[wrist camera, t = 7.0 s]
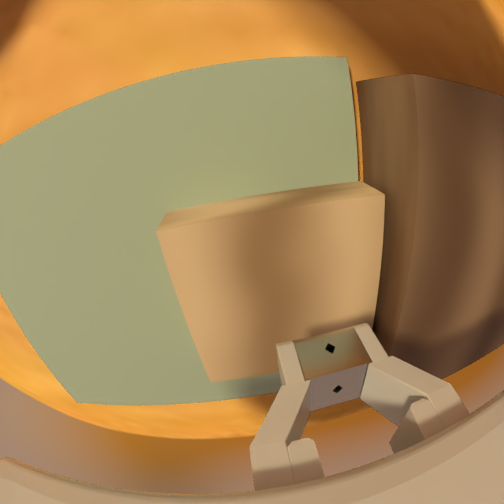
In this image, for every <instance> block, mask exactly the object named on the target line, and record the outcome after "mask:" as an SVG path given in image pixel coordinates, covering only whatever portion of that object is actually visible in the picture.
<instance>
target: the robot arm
mask: <svg viewBox="0 0 504 504" xmlns="http://www.w3.org/2000/svg"><path fill="white" fill-rule="evenodd" d="M276 350H277V358H278V366H279V372H280V378H281V383H282V386H281V388H280V390H279V392H278V394H277V396H276V398H275V400H274V402H273V404H272V406H271V408H270V410H269V412H268V413H267V415H266V417H265V419H264V421H263V423H262V425H261V427H260V429H259V431H258V432H257V434H256V436H255V438H254V440H253V442H252V443H251V446H250V455H251V463H252V471H253V479H254V486H255V491H246V492H235V493H220V494H168V493H152V492H142V491H133V490H126V489H118V488H112V487H107V486H102V485H97V484H91V483H87V482H83V481H79V480H74V479H71V478H67V477H63V476H60V475H57V474H53V473H50V472H47V471H44V470H41V469H38V468H35V467H32V466H29V465H27V464H25V463H22V462H19V461H17V460H15V459H12V458H9V457H3V458H0V504H504V390H503V391H502V392H501V393H499V394H498V395H497V396H495V397H494V398H493V399H491V400H490V401H488V402H487V403H486V404H484V405H483V406H481V407H480V408H478V409H477V410H476V411H474V412H472V413H471V414H469V412H468V410H467V409H466V407H465V406H464V404H463V402H462V401H461V399H460V398H459V396H458V394H457V393H456V392H455V390H454V388H453V387H452V385H451V384H450V383H448V382H446V381H444V380H442V379H439V378H437V377H435V376H433V375H431V374H429V373H427V372H425V371H423V370H421V369H419V368H417V367H415V366H413V365H411V364H409V363H407V362H404V361H402V360H400V359H398V358H396V357H394V356H390V357H388V355H387V353H386V352H385V350H384V348H383V347H382V345H381V344H380V342H379V340H378V339H377V337H376V336H375V334H374V332H373V331H372V329H371V328H370V326H369V324H367V323H363V324H360V325H356V326H352V327H348V328H345V329H341V330H337V331H333V332H329V333H325V334H322V335H318V336H313V337H308V338H303V339H298V340H293V341H288V342H283V343H277V344H276ZM356 398H360V399H361V400H362V401H364V402H365V403H366V404H368V405H369V406H370V407H372V408H373V409H375V410H376V411H377V412H379V413H380V414H381V415H383V416H384V417H386V418H387V419H388V420H390V421H391V422H393V423H394V424H396V425H397V426H398V429H397V430H396V432H395V434H394V435H393V437H392V438H391V440H390V442H389V443H390V445H391V447H392V450H393V453H394V454H392V455H390V456H387V457H386V458H382V459H380V460H377V461H375V462H372V463H369V464H366V465H363V466H361V467H358V468H354V469H352V470H348V471H345V472H342V473H338V474H335V475H331V476H327V477H324V473H323V469H322V466H321V463H320V459H319V456H318V452H317V449H316V445H315V442H314V440H312V439H309V438H305V439H301V437H302V434H303V431H304V429H305V426H306V423H307V421H308V418H309V415H310V411H313V410H317V409H320V408H324V407H327V406H331V405H334V404H338V403H342V402H346V401H349V400H353V399H356Z"/></svg>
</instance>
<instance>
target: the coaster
mask: <svg viewBox="0 0 504 504" xmlns="http://www.w3.org/2000/svg"><path fill="white" fill-rule="evenodd" d="M384 211H385V194H383V193H382V192H380V191H378V190H377V189H375V188H373V187H371V186H369V185H368V184H366V183H364V182H362V181H355V182H347V183H338V184H330V185H322V186H314V187H307V188H300V189H293V190H286V191H279V192H273V193H266V194H260V195H254V196H248V197H242V198H236V199H231V200H225V201H220V202H214V203H209V204H204V205H198V206H193V207H188V208H183V209H178V210H174V211H169V212H166V214H165V216H164V218H163V220H162V221H161V223H160V225H159V227H158V229H157V231H156V233H157V236H158V240H159V243H160V246H161V249H162V253H163V256H164V259H165V262H166V265H167V268H168V271H169V274H170V277H171V280H172V283H173V286H174V289H175V292H176V295H177V298H178V301H179V304H180V306H181V309H182V312H183V315H184V317H185V320H186V323H187V325H188V328H189V331H190V333H191V336H192V338H193V341H194V343H195V346H196V349H197V351H198V353H199V356H200V358H201V361H202V363H203V366H204V368H205V370H206V373H207V375H208V377H209V380H210V382H219V381H227V380H234V379H241V378H248V377H254V376H260V375H266V374H271V373H277V372H279V366H278V358H277V350H276V344H277V343H283V342H288V341H293V340H298V339H303V338H308V337H313V336H318V335H322V334H325V333H329V332H333V331H337V330H341V329H345V328H348V327H352V326H356V325H360V324H363V323H367V324H369V326H370V328H371V329H372V328H373V322H374V316H375V309H376V303H377V295H378V287H379V279H380V270H381V259H382V247H383V233H384Z"/></svg>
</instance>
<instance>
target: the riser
mask: <svg viewBox="0 0 504 504" xmlns="http://www.w3.org/2000/svg"><path fill="white" fill-rule="evenodd" d="M356 85H357V93H358V102H359V111H360V123H361V136H362V152H363V180H364V183H366V184H368V185H369V186H371V187H373V188H375V189H377V190H378V191H380V192H382V193H383V194H385V211H384V233H383V247H382V259H381V270H380V279H379V287H378V295H377V303H376V309H375V316H374V322H373V328H372V331H373V332H374V334H375V336H376V337H377V339H378V340H379V342H380V344H381V345H382V347H383V348H384V350H385V352H386V353H387V355H388V357H390V356H394V357H396V358H398V359H400V360H402V361H404V362H407V363H409V364H411V365H413V366H415V367H417V368H419V369H421V370H423V371H425V372H427V373H429V374H431V375H433V376H435V377H437V378H439V379H443V378H445V377H447V376H449V375H451V374H453V373H455V372H457V371H459V370H461V369H462V368H464V367H466V366H468V365H470V364H472V363H473V362H475V361H477V360H479V359H480V358H482V357H483V356H485V355H487V354H489V353H490V352H492V351H493V350H495V349H497V348H498V347H499V346H501V345H503V344H504V96H502V95H499V94H496V93H493V92H490V91H487V90H483V89H480V88H476V87H473V86H469V85H465V84H462V83H457V82H453V81H449V80H444V79H440V78H435V77H429V76H424V75H418V74H406V75H397V76H389V77H382V78H375V79H369V80H363V81H358V82H356Z"/></svg>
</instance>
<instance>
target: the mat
mask: <svg viewBox="0 0 504 504" xmlns="http://www.w3.org/2000/svg"><path fill="white" fill-rule="evenodd" d="M355 181H358V158H357V141H356V128H355V116H354V106H353V97H352V89H351V81H350V74H349V67H348V60H347V57H282V58H267V59H256V60H247V61H238V62H231V63H224V64H218V65H212V66H206V67H201V68H195V69H191V70H186V71H181V72H177V73H173V74H169V75H165V76H161V77H157V78H153V79H150V80H146V81H143V82H139V83H136V84H133V85H130V86H126V87H123V88H120V89H117V90H115V91H112V92H109V93H106V94H103V95H101V96H98V97H96V98H93V99H90V100H88V101H86V102H83V103H81V104H78V105H76V106H74V107H71V108H69V109H67V110H65V111H63V112H60V113H58V114H56V115H54V116H52V117H50V118H48V119H46V120H44V121H42V122H40V123H38V124H36V125H35V126H33V127H31V128H29V129H27V130H25V131H24V132H22V133H20V134H18V135H17V136H15V137H13V138H12V139H10V140H8V141H7V142H5V143H4V144H2V145H0V293H1V295H2V297H3V299H4V301H5V303H6V304H7V306H8V308H9V310H10V311H11V313H12V315H13V317H14V318H15V320H16V322H17V323H18V325H19V326H20V328H21V330H22V331H23V333H24V334H25V336H26V337H27V339H28V340H29V342H30V343H31V345H32V346H33V348H34V349H35V351H36V352H37V353H38V355H39V356H40V358H41V359H42V360H43V362H44V363H45V364H46V366H47V367H48V368H49V370H50V371H51V372H52V373H53V375H54V376H55V377H56V379H57V380H58V381H59V382H60V383H61V385H62V386H63V387H64V388H65V389H66V391H67V392H68V393H69V394H70V395H71V396H72V397H73V399H74V400H75V401H76V402H77V403H88V404H105V405H170V404H187V403H200V402H211V401H221V400H229V399H237V398H244V397H251V396H258V395H264V394H270V393H275V392H279V390H280V388H281V386H282V383H281V378H280V372H277V373H271V374H266V375H260V376H254V377H248V378H241V379H234V380H227V381H219V382H210V380H209V377H208V375H207V373H206V370H205V368H204V366H203V363H202V361H201V358H200V356H199V353H198V351H197V349H196V346H195V343H194V341H193V338H192V336H191V333H190V331H189V328H188V325H187V323H186V320H185V317H184V315H183V312H182V309H181V306H180V304H179V301H178V298H177V295H176V292H175V289H174V286H173V283H172V280H171V277H170V274H169V271H168V268H167V265H166V262H165V259H164V256H163V253H162V249H161V246H160V243H159V240H158V236H157V233H156V231H157V229H158V227H159V225H160V223H161V221H162V220H163V218H164V216H165V214H166V212H169V211H174V210H178V209H183V208H188V207H193V206H198V205H204V204H209V203H214V202H220V201H225V200H231V199H236V198H242V197H248V196H254V195H260V194H266V193H273V192H279V191H286V190H293V189H300V188H307V187H314V186H322V185H330V184H338V183H347V182H355Z"/></svg>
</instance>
